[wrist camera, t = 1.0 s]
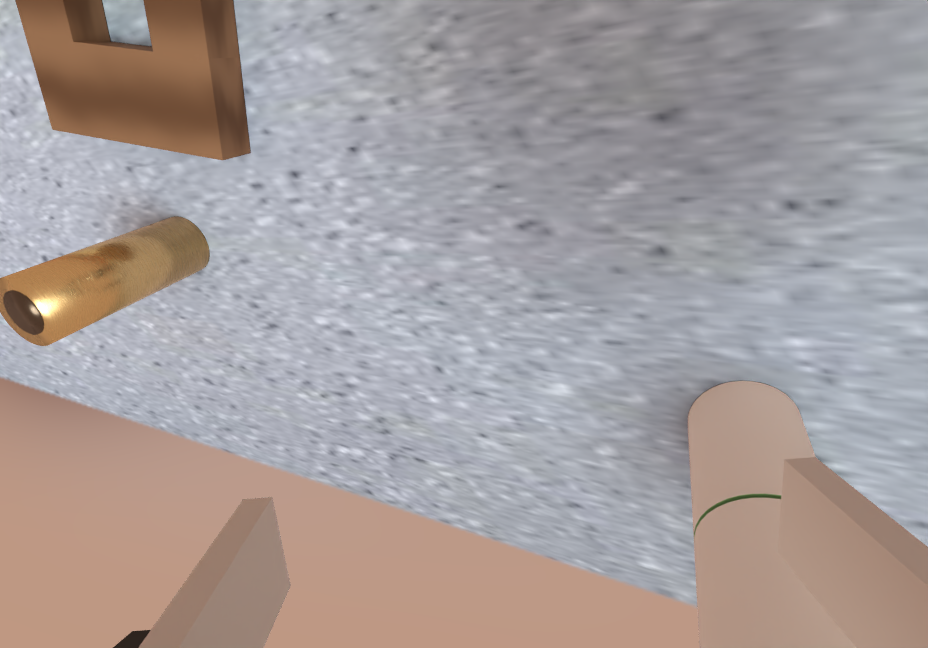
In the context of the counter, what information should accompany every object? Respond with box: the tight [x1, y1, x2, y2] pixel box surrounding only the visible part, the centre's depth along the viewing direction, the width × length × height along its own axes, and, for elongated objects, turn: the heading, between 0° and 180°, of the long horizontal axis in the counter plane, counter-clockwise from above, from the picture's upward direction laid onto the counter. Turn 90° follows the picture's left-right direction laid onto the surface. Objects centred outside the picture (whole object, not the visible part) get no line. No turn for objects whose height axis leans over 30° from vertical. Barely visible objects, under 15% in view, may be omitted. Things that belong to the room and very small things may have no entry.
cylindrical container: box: [688, 381, 856, 648], centre depth 27 cm, size 7×7×25 cm
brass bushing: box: [0, 217, 209, 346], centre depth 41 cm, size 5×5×14 cm
